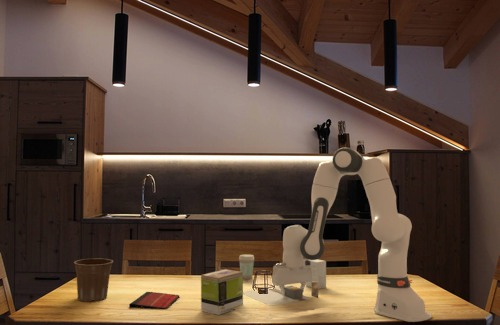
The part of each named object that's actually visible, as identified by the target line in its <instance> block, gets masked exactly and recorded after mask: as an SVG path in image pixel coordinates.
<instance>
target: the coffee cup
mask: <svg viewBox="0 0 500 325" xmlns="http://www.w3.org/2000/svg"><path fill="white" fill-rule="evenodd" d="M238 261H239V262H238V263H239V272H243V279H244V280H251V279H253V272H254V265H255V256H254V254H250V253H249V254H246V253H245V254H240V255H239V257H238Z"/></svg>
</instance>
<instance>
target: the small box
mask: <svg viewBox="0 0 500 325" xmlns="http://www.w3.org/2000/svg"><path fill="white" fill-rule="evenodd" d="M311 261H312V265H311V267H312V269H313V279H312V281H318V290H319V289H324V288H327V260H322V259H317V260H311ZM312 281H310V282H306V285H305V287H309V288H312Z"/></svg>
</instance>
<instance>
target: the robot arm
mask: <svg viewBox="0 0 500 325" xmlns="http://www.w3.org/2000/svg"><path fill="white" fill-rule="evenodd" d="M316 169H317V170H316V171H315V175H314V178H313V182H312V186H311V215H310V220H309V225H308V228H307V229H306V228H305V227H303V226H302V225H301V224H294V225H292V224H291V225H289V226H287V227H286V228H284V230H283V235H282V248H283V252H282V262H280V263H276V264H274V265H273V267H272V276H271V283H272V285H273V286H275V287H279V288H280V289H281V294H282V295H286V291H285V290H284V287H286V285H287V286H289V285H293V284H300V287H299V288H300V289H303V293H304V289H305V287H306V282H310V281H312V279H313V269H312V267H311V265H312V261H311V260H317V259H318V260H320V258H321V257H323V255H324V252H325V242H324V237H323V236H324V235H323V234H324V229H325V226H326V220H327V216H328V214H329V212H330V210H331V207H332V206H333V204H334V202H335V200H336V197H337V194H338V189H339V185H340V184H339V183H340V180H341V178H343V177H350V176H351V177H352V176H357V175H358V176H359V177H360V179H361V182H362V185H363V188H364V190H365V194H366V196H367V199H368V204H369V207H370V216H371V222H372V224H371V233H372V235H373V237H374V238H375V240H377V241H379V242H381V245H380V246H381V247H380V250H379V253H378V256H377V257H378V260H377V261H378V263H377V264H378V269H377V270H378V273H377V275H376V276H377V278H376V279H377V280H376V283H377V292H376V298H375V300H376V301H375V305H374V308H373V309H374V314H375V315H380V316H384V317H388V318H392V319H397V320H400V321H405V322H408V323H411V322H412V323H415V322H423V321H427V320H430V319H432V318H433V317H432V313H430V312H428V311H426V305H425V304H426V303H425V301H424V299H423V298H422V297H421V296H420V295H419V294H418V293H417V291H415V290H414V289H413V288H412V286H411V284H412V283H414V282H413V279H409V277H408V275H407V274H408V273H407V272H408V268H407V267H408V266H407V265H408V263H407V262H408V261H407V260H408V259H407V258H408V250H409V246H410V235H411V231H412V228H413V226H412V222H411V219H410V218H409V217H407V215H404V214H401V213H399V212H398V209H397V195H396V192H395V189H394V186H393V184H392V181H391V177H390V175H389V173H388V170H387V168H386V166H385V165H384V163H383V161H382V160H381V159H380V158H379V157H376V156H371V157H366V158H364V156H363V155H362V154H361V153H360V152H358V151H357V150H355V149H353V148H351V147H341V148H338V149H337V150H336V151H335V152H334V154H333V156H332V160H331V161H329V160H327V161H322V162H320V163H319V165H318V167H317V168H316Z"/></svg>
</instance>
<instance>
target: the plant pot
mask: <svg viewBox="0 0 500 325" xmlns="http://www.w3.org/2000/svg"><path fill="white" fill-rule="evenodd" d="M113 263H114V260H113V259H109V258H83V259H78V260H74V262H73V264H74V265H75V266H74V268H75V273H76V287H77V288H76V290H77V300H78V301H80V302H91V301H94V302H99V301H103V300H106V299H107V297H108V289H109V283H110V275H111V271H112V265H113Z"/></svg>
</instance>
